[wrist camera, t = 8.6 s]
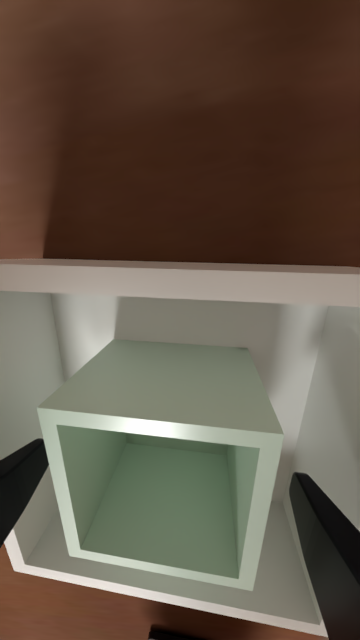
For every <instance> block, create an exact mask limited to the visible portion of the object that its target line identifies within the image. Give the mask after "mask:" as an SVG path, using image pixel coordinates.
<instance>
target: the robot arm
mask: <svg viewBox="0 0 360 640" xmlns="http://www.w3.org/2000/svg"><path fill="white" fill-rule="evenodd" d="M48 466H49V462H48V457H47V453H46V448H45V444H44V439H43V438H37V439H35V440H33V441H32V442H30V443H28V444H27V445H25V446H23V447H22V448H20V449H18V450H17V451H15V452H13V453H12V454H10V455H8V456H7V457H5V458H3V459H2V460H0V548H1V546H2V545H3V543H4V541H5V540H6V538H7V537H8V535H9V534H10V532H11V531H12V529H13V527H14V526H15V524H16V523H17V521H18V520H19V518H20V516H21V515H22V513H23V511H24V510H25V508H26V506H27V505H28V503H29V501H30V499H31V497H32V496H33V494H34V492H35V490H36V488H37V486H38V484H39V483H40V481H41V479H42V477H43V475H44V473H45V471H46V470H47V468H48ZM289 496H290V501H291V505H292V510H293V514H294V518H295V523H296V527H297V532H298V536H299V540H300V545H301V549H302V553H303V557H304V561H305V564H306V567H307V571H308V574H309V577H310V580H311V584H312V587H313V590H314V593H315V596H316V600H317V603H318V606H319V609H320V612H321V615H322V619H323V622H324V625H325V628H326V631H327V635H328V638H329V640H360V531H359V530H358V529H357V528H356V527H355V526H354V525H353V524H352V523H351V521H350V520H349V519H348V518H347V517H346V516H345V515H344V514H343V513H342V511H341V510H340V509H339V508H338V507H337V506H336V505H335V504H334V503H333V502H332V500H331V499H330V498H329V497H328V496H327V495H326V494H325V493H324V492H323V490H322V489H321V488H320V487H319V486H318V485H317V484H316V483H315V482H314V480H313V479H312V478H311V477H310V476H309V475H308V474H306V473H302V472H294V473H293V475H292V479H291V483H290V487H289ZM148 640H189V639H185V638H180V637H176V636H172V635H167V634H163V633H159V632H154V631H151V632H149V637H148Z"/></svg>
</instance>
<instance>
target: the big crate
mask: <svg viewBox="0 0 360 640" xmlns="http://www.w3.org/2000/svg"><path fill="white" fill-rule="evenodd" d="M113 339H117V340H133V341H148V342H164V343H179V344H194V345H210V346H225V347H241V348H248V350H249V353H250V355H251V357H252V360H253V362H254V365H255V367H256V369H257V372H258V374H259V376H260V379H261V381H262V383H263V386H264V388H265V390H266V393H267V395H268V397H269V400H270V402H271V404H272V407H273V409H274V411H275V414H276V416H277V418H278V421H279V423H280V425H281V428H282V430H283V433H284V439H283V444H282V449H281V454H280V459H279V464H278V469H277V474H276V479H275V483H274V488H273V493H272V498H271V503H270V508H269V513H268V518H267V523H266V528H265V533H264V538H263V543H262V548H261V553H260V558H259V563H258V568H257V573H256V578H255V582H254V587H253V591H249V590H243V589H238V588H233V587H228V586H223V585H217V584H212V583H207V582H202V581H197V580H192V579H186V578H181V577H176V576H171V575H166V574H160V573H155V572H150V571H145V570H140V569H134V568H129V567H124V566H119V565H114V564H109V563H103V562H98V561H93V560H88V559H83V558H77V557H72V556H69V552H68V548H67V543H66V539H65V534H64V530H63V525H62V521H61V516H60V512H59V507H58V503H57V498H56V494H55V489H54V484H53V480H52V475H51V471H50V466H48V468H47V470H46V471H45V473H44V475H43V477H42V479H41V481H40V483H39V484H38V486H37V488H36V490H35V492H34V494H33V496H32V497H31V499H30V501H29V503H28V505H27V506H26V508H25V510H24V511H23V513H22V515H21V516H20V518H19V520H18V521H17V523H16V524H15V526H14V527H13V529H12V531H11V532H10V534H9V535H8V537H7V538H6V540H5V541H4V543H5V546H6V549H7V552H8V555H9V558H10V560H11V563H12V566H13V569H14V571H17V572H22V573H27V574H31V575H36V576H41V577H46V578H50V579H55V580H60V581H65V582H69V583H74V584H79V585H84V586H88V587H93V588H98V589H102V590H107V591H112V592H117V593H121V594H126V595H131V596H136V597H140V598H145V599H150V600H154V601H159V602H164V603H169V604H173V605H178V606H183V607H188V608H192V609H197V610H202V611H207V612H211V613H216V614H221V615H225V616H230V617H235V618H240V619H244V620H249V621H254V622H259V623H263V624H268V625H273V626H278V627H282V628H287V629H292V630H296V631H301V632H306V633H311V634H315V635H320V636H325V637H328V635H327V631H326V628H325V625H324V622H323V619H322V615H321V612H320V609H319V606H318V603H317V600H316V596H315V593H314V590H313V587H312V584H311V580H310V577H309V574H308V571H307V567H306V564H305V561H304V557H303V553H302V549H301V545H300V540H299V536H298V532H297V527H296V523H295V518H294V514H293V510H292V505H291V501H290V496H289V487H290V483H291V479H292V475H293V473H294V472H302V473H306V474H308V475H309V476H310V477H311V478H312V479H313V480H314V482H315V483H316V484H317V485H318V486H319V487H320V488H321V489H322V490H323V492H324V493H325V494H326V495H327V496H328V497H329V498H330V499H331V500H332V502H333V503H334V504H335V505H336V506H337V507H338V508H339V509H340V510H341V511H342V513H343V514H344V515H345V516H346V517H347V518H348V519H349V520H350V521H351V523H352V524H353V525H354V526H355V527H356V528H357V529H358V530H359V531H360V267H348V266H314V265H276V264H237V263H198V262H159V261H120V260H81V259H0V460H2V459H3V458H5V457H7V456H8V455H10V454H12V453H13V452H15V451H17V450H18V449H20V448H22V447H23V446H25V445H27V444H28V443H30V442H32V441H33V440H35V439H37V438H43V435H42V430H41V426H40V421H39V416H38V412H37V407H38V406H39V405H40V404H41V403H42V402H44V401H45V400H46V399H47V398H48V397H49V396H50V395H51V394H53V393H54V392H55V391H56V390H57V389H58V388H59V387H60V386H62V385H63V384H64V383H65V382H66V381H67V380H68V379H69V378H70V377H72V376H73V375H74V374H75V373H76V372H77V371H78V370H79V369H81V368H82V367H83V366H84V365H85V364H86V363H87V362H88V361H90V360H91V359H92V358H93V357H94V356H95V355H96V354H97V353H99V352H100V351H101V350H102V349H103V348H104V347H105V346H106V345H108V344H109V343H110V342H111V341H112V340H113Z"/></svg>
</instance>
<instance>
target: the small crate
mask: <svg viewBox="0 0 360 640" xmlns="http://www.w3.org/2000/svg"><path fill="white" fill-rule="evenodd" d="M37 412H38V416H39V421H40V426H41V430H42V435H43V439H44V444H45V448H46V453H47V457H48V462H49V466H50V471H51V475H52V480H53V484H54V489H55V494H56V498H57V503H58V507H59V512H60V516H61V521H62V525H63V530H64V534H65V539H66V543H67V548H68V552H69V556H72V557H77V558H83V559H88V560H93V561H98V562H103V563H109V564H114V565H119V566H124V567H129V568H134V569H140V570H145V571H150V572H155V573H160V574H166V575H171V576H176V577H181V578H186V579H192V580H197V581H202V582H207V583H212V584H217V585H223V586H228V587H233V588H238V589H243V590H249V591H253V587H254V582H255V578H256V573H257V568H258V563H259V558H260V553H261V548H262V543H263V538H264V533H265V528H266V523H267V518H268V513H269V508H270V503H271V498H272V493H273V488H274V483H275V479H276V474H277V469H278V464H279V459H280V454H281V449H282V444H283V439H284V433H283V430H282V428H281V425H280V423H279V421H278V418H277V416H276V414H275V411H274V409H273V407H272V404H271V402H270V400H269V397H268V395H267V393H266V390H265V388H264V386H263V383H262V381H261V379H260V376H259V374H258V372H257V369H256V367H255V365H254V362H253V360H252V357H251V355H250V353H249V350H248V348H241V347H225V346H210V345H194V344H179V343H164V342H148V341H133V340H117V339H113V340H112V341H111V342H110V343H109V344H108V345H106V346H105V347H104V348H103V349H102V350H101V351H100V352H99V353H97V354H96V355H95V356H94V357H93V358H92V359H91V360H90V361H88V362H87V363H86V364H85V365H84V366H83V367H82V368H81V369H79V370H78V371H77V372H76V373H75V374H74V375H73V376H72V377H70V378H69V379H68V380H67V381H66V382H65V383H64V384H63V385H62V386H60V387H59V388H58V389H57V390H56V391H55V392H54V393H53V394H51V395H50V396H49V397H48V398H47V399H46V400H45V401H44V402H42V403H41V404H40V405H39V406H38V407H37Z"/></svg>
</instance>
